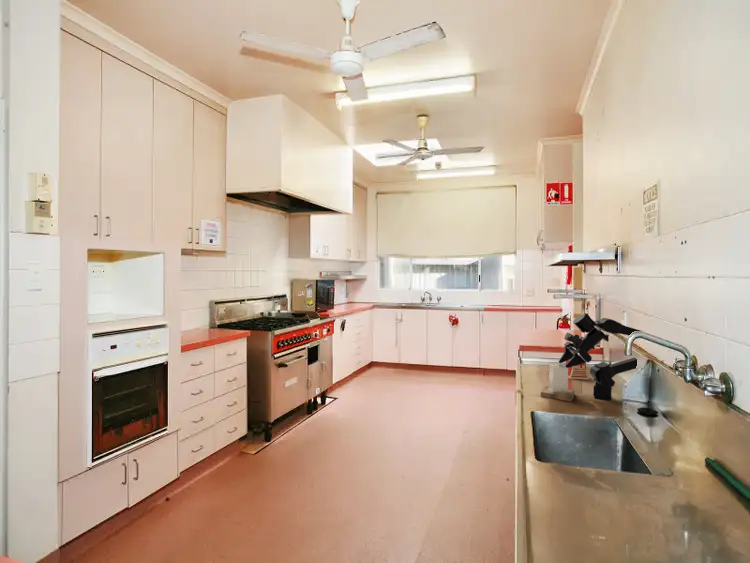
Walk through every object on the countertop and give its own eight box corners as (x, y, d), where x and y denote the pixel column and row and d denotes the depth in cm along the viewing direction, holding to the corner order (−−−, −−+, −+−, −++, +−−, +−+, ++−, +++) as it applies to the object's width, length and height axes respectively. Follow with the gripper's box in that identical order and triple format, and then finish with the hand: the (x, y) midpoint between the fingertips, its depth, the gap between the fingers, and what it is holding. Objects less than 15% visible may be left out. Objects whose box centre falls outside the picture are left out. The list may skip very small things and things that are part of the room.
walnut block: (574, 394, 194) (574, 390, 194) (570, 401, 184) (571, 396, 184) (545, 390, 201) (545, 385, 200) (540, 396, 190) (540, 391, 190)
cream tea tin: (562, 389, 195) (563, 364, 195) (567, 393, 189) (568, 367, 189) (548, 388, 196) (549, 364, 195) (552, 392, 190) (553, 367, 189)
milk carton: (588, 379, 223) (590, 340, 223) (570, 378, 224) (571, 339, 223) (580, 375, 233) (582, 337, 232) (562, 374, 233) (564, 336, 232)
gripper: (569, 324, 200) (543, 347, 202) (584, 329, 181) (555, 355, 183) (587, 342, 199) (560, 365, 201) (604, 349, 181) (575, 375, 182)
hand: (562, 364), depth 192 cm, fingers open, 9 cm apart
